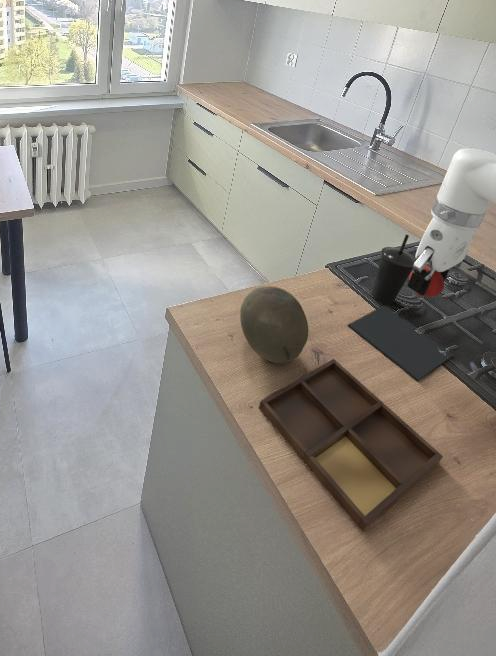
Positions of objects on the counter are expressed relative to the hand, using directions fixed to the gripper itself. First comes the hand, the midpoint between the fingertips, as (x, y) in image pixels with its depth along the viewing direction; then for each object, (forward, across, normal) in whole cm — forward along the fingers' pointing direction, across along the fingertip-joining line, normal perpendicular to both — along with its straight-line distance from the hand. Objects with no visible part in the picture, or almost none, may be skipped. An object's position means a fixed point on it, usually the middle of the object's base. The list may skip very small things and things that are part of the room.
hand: (425, 285), depth 86 cm
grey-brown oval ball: (+19, -26, +14) cm, 36 cm away
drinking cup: (+19, +14, +11) cm, 26 cm away
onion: (+3, 0, 0) cm, 3 cm away
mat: (+19, +4, +1) cm, 20 cm away
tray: (+19, -28, -6) cm, 34 cm away
